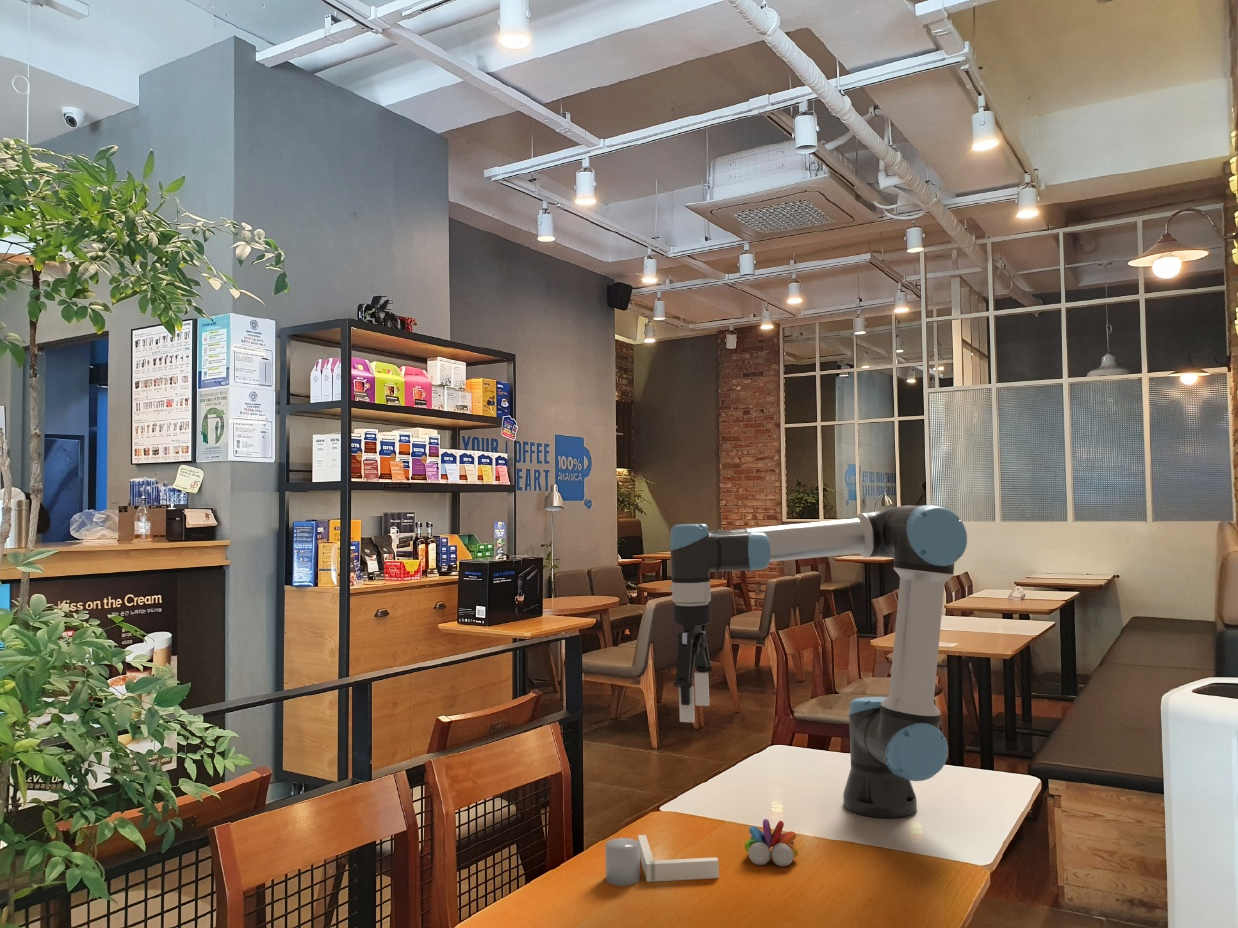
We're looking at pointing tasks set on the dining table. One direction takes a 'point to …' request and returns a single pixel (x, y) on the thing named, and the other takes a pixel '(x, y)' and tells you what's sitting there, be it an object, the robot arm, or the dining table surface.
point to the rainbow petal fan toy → (771, 845)
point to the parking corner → (675, 866)
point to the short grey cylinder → (622, 861)
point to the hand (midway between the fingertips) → (695, 713)
